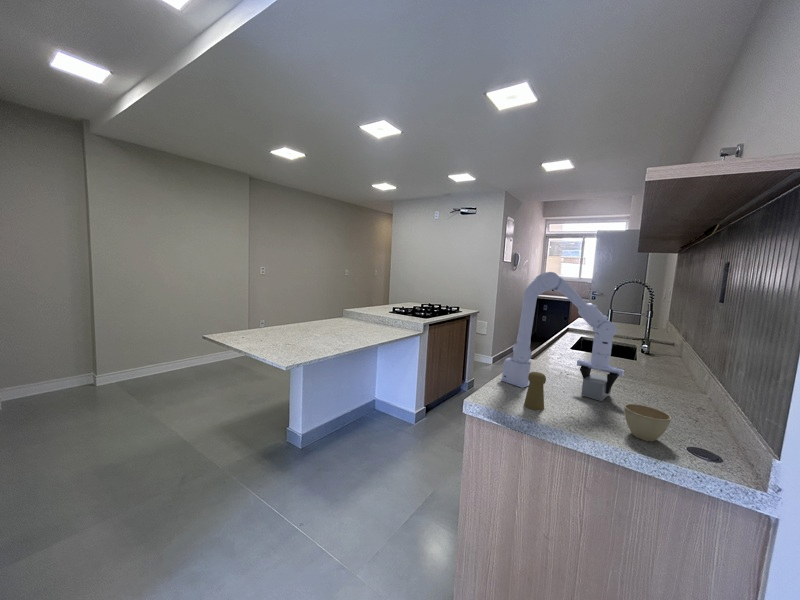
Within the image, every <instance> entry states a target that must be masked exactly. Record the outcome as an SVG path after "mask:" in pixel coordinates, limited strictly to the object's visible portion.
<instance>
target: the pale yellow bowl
mask: <svg viewBox="0 0 800 600" xmlns="http://www.w3.org/2000/svg"><path fill="white" fill-rule="evenodd" d="M623 408H624V416H625V421H626V424H627V425H628V428H629V431H630V433H631V435H633V436H634V437H635V438H638V439H640V440H642V441H645V442H654V441H655V442H656V441H657V440H658V439H659V438H660V437H661V436H662V435H663V434H664V433H665V432H666V430H667V429H668V427H669V425H670V423H671V420H672V417H671V415H670V414H668V413H667V412H664V411H663V410H660V409H658V408H654V407H652V406H648V405H643V404H637V403H625V404H624V407H623Z"/></svg>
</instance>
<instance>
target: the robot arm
mask: <svg viewBox="0 0 800 600" xmlns="http://www.w3.org/2000/svg"><path fill="white" fill-rule="evenodd" d="M552 290H553V291H555V292H559V293H561V294H563V295H564V296H565V298H567V299H568V300H569V301H570V302H571V303H572V304H573V305H574V306H575V307H576V308H577V309H578V311H577V313H578V315H579V316H580V317H581V318H582V319H583V320H584V321H585V322H586V323H587V324H588V325H589V326H590V327H591V328H592V330H593V332H594V336H593V341H592V351H591V357H590V361H586V360H582V359H577V360H576V366H577V367H579V371H580V374H581V376H582V380H583V379H584V378H586V377H588V376H589V375H591V372H592V370H596V371H601V372H604V373H608V374H607V375H606V377H607V387H606V393H607V394H608V393H610V389H611V390H612V387H613V385H614V383H615V382H616V380H617V379H618V378H619V377H624V375H625V370H624V369H622V368H618V367H614V366H611V365H610V362H611V355H612V349H613V338H614V336H615V335H616V334H617V332H618V330H617V327H616V325H615V324H614V322H612V321H610V320H608V319H609V317H608V316H607V315H604V314H603V313H602V312H601V311H600V310H599V309H598V308H599V306H598V305H597V304H593V303H591V302H586V301H585V300H584V299H583V298H582V297H581V296H580V295H579V294H578V292H577V291H576V290H575V289H574V288H573V287H572V286H571V285H570V284H569V283H568V282H567V281H566V280H565V279H563V278H562V277H560V276H559V275H558V273H556V272H553V271H547V272H542V273H541V274H538V275H537V276H536V277H535V278H534V279H533V280H532V281H531V282H530V283H529V284H528V285H527V286H526V287H525V289H524V293H523V299H522V306H521V311H520V312H521V314H520V319H519V325H518V332H517V337H516V340H515V341H516V342H515V343H513V346H512V352H513V354H512V356H511V357H507V358H505V360H504V361H503V363H502V364H503V365H502V374H501V379H500V381H502V382H505V383H508V384H510V385H513V386H516V387H519V388H521V389H522V388H525V387H528V386H529V383H530V382H529V380H528V375H529V373H531V365H532V364H531V363H532V360H531V358H532V351H531V339H532V338H531V337H532V331H533V326H534V318H535V312H536V307H537V302H538V301H537V300H538V299H537V298H538V297H539V296H540V295H542V294H544V293H545V292H547V291H552ZM610 394H611V393H610Z"/></svg>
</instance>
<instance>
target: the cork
mask: <svg viewBox="0 0 800 600" xmlns="http://www.w3.org/2000/svg"><path fill="white" fill-rule="evenodd" d="M528 380H529V382H530V383H529V386H527V387H528V388H527V390H526V391H527V392H526V395H525V399H524V403H523V406H524V407H525V406H526V407H525V408H527V409H529V408H530V409H529V410H532V411H537V410H542V411H544V410H545V393H544V392H545V391H544V386H545V384H546V381H547V377H546V375H545V374H544V373H542V372H537V371H530V373H529V375H528ZM543 409H544V410H543Z"/></svg>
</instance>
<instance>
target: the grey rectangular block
mask: <svg viewBox="0 0 800 600" xmlns="http://www.w3.org/2000/svg"><path fill="white" fill-rule="evenodd" d="M581 387H582V388H581V393H580V394H581V396H583V397H586V398H589V399H593V400H597V401H599V402H602V401H604V400H605V399H607V397H608V396H610V395H611V392H612V391H611V390H612V388H611V389H610V393H608V394H607V393H606V387H607V375H601V374H598V373H594V372H593V373H590V375H589V376H588V377H586V378H584V379H583V378H582V386H581Z"/></svg>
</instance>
